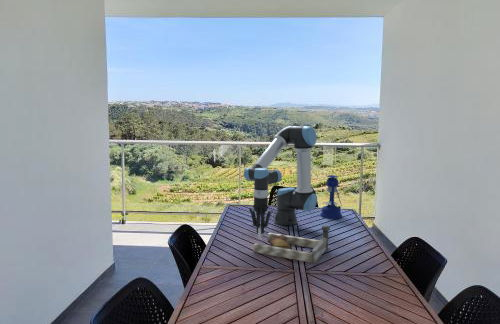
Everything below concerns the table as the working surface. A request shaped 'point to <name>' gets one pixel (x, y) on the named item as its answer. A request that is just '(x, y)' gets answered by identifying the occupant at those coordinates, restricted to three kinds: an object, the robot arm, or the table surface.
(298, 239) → the bay
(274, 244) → the stone
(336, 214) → the lantern
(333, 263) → the table surface
